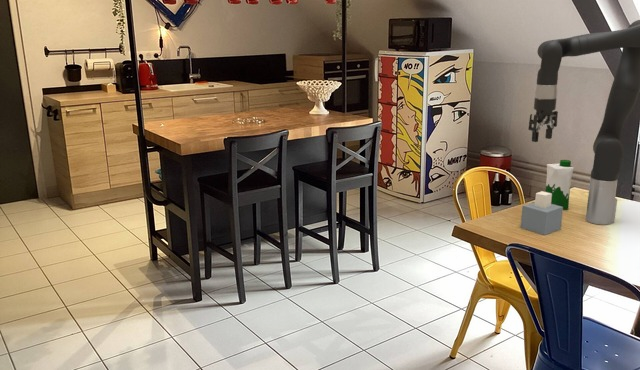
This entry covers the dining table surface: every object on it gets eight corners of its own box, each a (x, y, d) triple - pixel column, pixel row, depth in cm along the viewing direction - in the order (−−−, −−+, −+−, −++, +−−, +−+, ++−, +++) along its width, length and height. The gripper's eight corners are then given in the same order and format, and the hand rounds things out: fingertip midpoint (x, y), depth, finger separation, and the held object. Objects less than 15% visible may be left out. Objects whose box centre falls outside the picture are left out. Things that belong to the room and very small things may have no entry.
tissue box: (536, 221, 215) (539, 187, 212) (560, 229, 207) (564, 194, 204) (520, 227, 210) (523, 192, 206) (544, 235, 202) (548, 199, 198)
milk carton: (571, 210, 228) (576, 163, 222) (550, 211, 227) (555, 164, 222) (560, 203, 236) (565, 158, 231) (540, 204, 235) (544, 159, 230)
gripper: (547, 94, 210) (544, 136, 215) (524, 97, 203) (521, 141, 207) (566, 96, 204) (561, 139, 209) (543, 99, 197) (539, 144, 201)
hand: (541, 140), depth 208 cm, fingers open, 8 cm apart
